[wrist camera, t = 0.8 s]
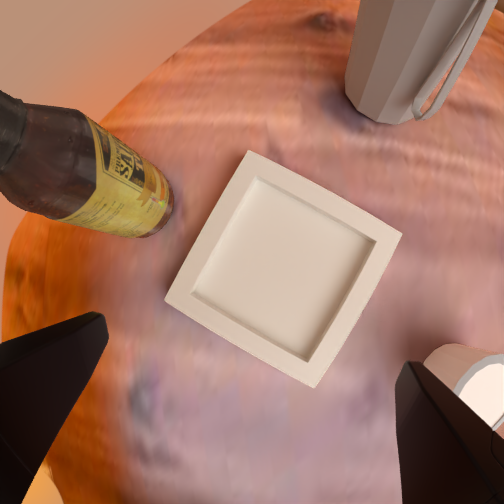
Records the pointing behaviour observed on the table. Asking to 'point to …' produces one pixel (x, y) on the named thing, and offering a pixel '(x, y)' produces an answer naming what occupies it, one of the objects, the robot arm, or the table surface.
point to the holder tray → (283, 268)
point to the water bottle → (410, 54)
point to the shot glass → (472, 378)
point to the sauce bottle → (78, 172)
